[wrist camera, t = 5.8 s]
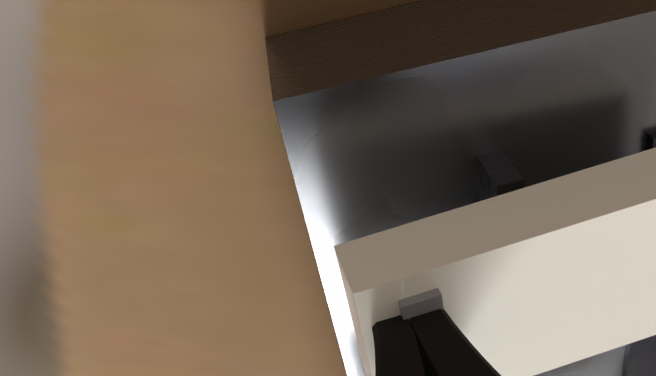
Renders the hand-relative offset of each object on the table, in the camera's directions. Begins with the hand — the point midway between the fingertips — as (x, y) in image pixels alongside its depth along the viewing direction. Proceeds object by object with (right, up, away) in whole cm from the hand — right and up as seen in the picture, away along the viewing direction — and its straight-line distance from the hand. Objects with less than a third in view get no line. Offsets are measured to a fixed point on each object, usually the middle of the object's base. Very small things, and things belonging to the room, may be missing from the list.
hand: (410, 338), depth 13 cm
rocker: (+3, +2, +1) cm, 3 cm away
